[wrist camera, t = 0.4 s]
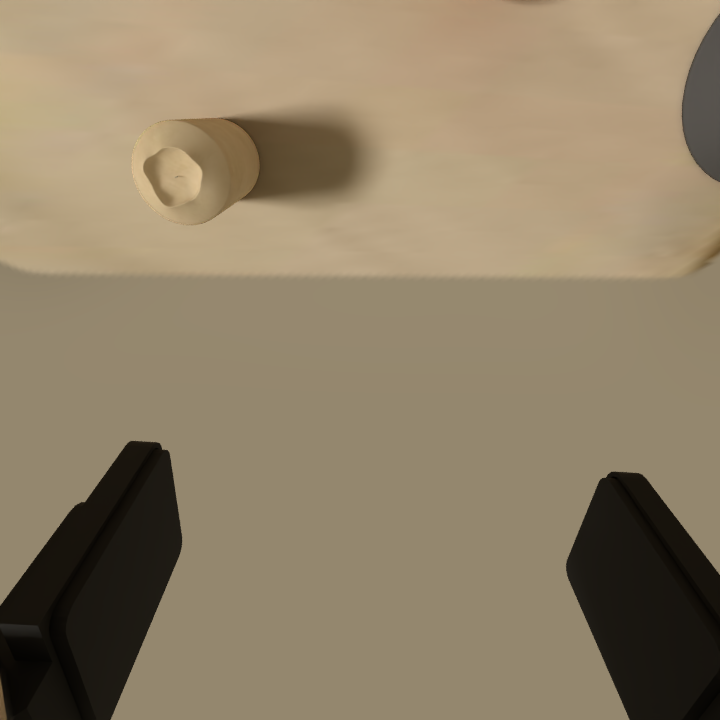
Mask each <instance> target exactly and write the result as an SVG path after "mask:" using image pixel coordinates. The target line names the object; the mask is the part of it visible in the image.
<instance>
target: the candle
mask: <svg viewBox="0 0 720 720" xmlns="http://www.w3.org/2000/svg"><path fill="white" fill-rule="evenodd" d="M259 170H260V161H259V155H258V151H257V148H256V146H255V144H254V142H253V141H252V139H251V138H250V136H249V135H248V134H247V133H246V132H245V131H244V130H243V129H242V128H241V127H239V126H238V125H236V124H235V123H233V122H230V121H228V120H224V119H218V118H205V119H181V120H166V121H161V122H158V123H156V124H154V125H152V126H150V127H149V128H147V129H146V130H145V131H144V132H143V133H142V134H141V136H140V137H139V138H138V140H137V142H136V144H135V147H134V150H133V154H132V173H133V178H134V181H135V184H136V186H137V189H138V191H139V193H140V194H141V196H142V198H143V199H144V200H145V202H146V203H147V204H148V205H149V206H150V207H151V208H152V209H153V210H154V211H155V212H156V213H158V214H159V215H160V216H162V217H164V218H165V219H167V220H169V221H172V222H174V223H178V224H183V225H197V224H202V223H205V222H207V221H209V220H211V219H213V218H214V217H216V216H217V215H219V214H220V213H222V212H223V211H224V210H226V209H227V208H229V207H230V206H232V205H233V204H234V203H236V202H237V201H239V200H240V199H242V198H243V197H244V196H245V195H247V194H248V193H249V192H250V191H251V190H252V188H253V187H254V185H255V184H256V181H257V179H258V175H259Z"/></svg>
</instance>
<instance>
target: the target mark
mask: <svg viewBox="0 0 720 720" xmlns="http://www.w3.org/2000/svg"><path fill="white" fill-rule="evenodd" d="M682 122H683V132H684V136H685V140H686V144H687V146H688V148H689V151H690V153H691V155H692V157H693V158H694V160H695V161H696V163H697V164H698V165H699V167H700V168H701V169H702V170H703V171H704V172H705V173H706V174H708V175H709V176H710V177H712V178H713V179H715V180H717V181H719V182H720V14H719V16H718V17H717V18H716V19H715V21H714V22H713V24H712V25H711V27H710V29H709V30H708V32H707V34H706V35H705V37H704V39H703V41H702V43H701V45H700V47H699V49H698V50H697V52H696V55H695V57H694V60H693V62H692V65H691V68H690V70H689V74H688V77H687V81H686V85H685V90H684V96H683V103H682Z"/></svg>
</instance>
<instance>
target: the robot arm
mask: <svg viewBox="0 0 720 720" xmlns="http://www.w3.org/2000/svg"><path fill="white" fill-rule="evenodd" d="M181 547H182V533H181V527H180V520H179V513H178V506H177V500H176V493H175V486H174V480H173V473H172V467H171V459H170V454H169V452H168V450H162V447H161V445H160V443H157V442H142V441H130V442H129V443H128V444H127V445H126V446H125V447H124V449H123V450H122V451H121V453H120V454H119V456H118V457H117V459H116V460H115V461H114V463H113V464H112V466H111V467H110V468H109V470H108V471H107V472H106V474H105V475H104V477H103V478H102V479H101V481H100V482H99V484H98V485H97V486H96V488H95V489H94V490H93V492H92V493H91V495H90V496H89V497H88V499H87V500H86V502H81V503H79V504H77V505H76V506H75V507H74V508H73V509H72V510H71V511H70V512H69V514H68V515H67V516H66V518H65V519H64V520H63V522H62V523H61V524H60V526H59V527H58V528H57V530H56V531H55V533H54V534H53V535H52V537H51V538H50V539H49V541H48V542H47V544H46V545H45V546H44V547H43V549H42V550H41V551H40V553H39V554H38V555H37V557H36V558H35V560H34V561H33V563H32V564H31V565H30V566H29V568H28V569H27V570H26V572H25V573H24V574H23V576H22V577H21V579H20V580H19V581H18V583H17V584H16V585H15V587H14V588H13V589H12V591H11V592H10V593H9V595H8V596H7V598H6V599H5V600H4V602H3V603H2V604H1V606H0V720H110V719H111V717H112V715H113V713H114V710H115V708H116V705H117V703H118V700H119V698H120V696H121V693H122V691H123V689H124V686H125V684H126V682H127V679H128V677H129V674H130V672H131V670H132V667H133V665H134V662H135V660H136V657H137V655H138V653H139V650H140V648H141V646H142V643H143V641H144V639H145V636H146V634H147V631H148V629H149V627H150V624H151V622H152V620H153V617H154V615H155V612H156V610H157V608H158V605H159V603H160V600H161V598H162V595H163V593H164V591H165V588H166V586H167V584H168V581H169V579H170V576H171V574H172V572H173V569H174V567H175V565H176V562H177V560H178V557H179V555H180V552H181ZM566 571H567V576H568V579H569V581H570V583H571V586H572V588H573V590H574V593H575V595H576V597H577V600H578V602H579V604H580V607H581V609H582V611H583V613H584V616H585V618H586V620H587V622H588V625H589V627H590V629H591V632H592V634H593V636H594V639H595V641H596V643H597V646H598V648H599V650H600V652H601V655H602V657H603V659H604V662H605V664H606V666H607V669H608V671H609V673H610V675H611V678H612V680H613V682H614V685H615V687H616V689H617V691H618V694H619V696H620V698H621V700H622V703H623V705H624V708H625V710H626V712H627V715H628V717H629V719H630V720H720V575H719V573H718V572H717V571H716V569H715V568H714V567H713V566H712V564H711V563H710V562H709V560H708V559H707V558H706V556H705V555H704V554H703V552H702V551H701V550H700V548H699V547H698V546H697V545H696V543H695V542H694V541H693V539H692V538H691V537H690V536H689V534H688V533H687V531H686V530H685V529H684V528H683V526H682V525H681V524H680V522H679V521H678V520H677V518H676V517H675V516H674V515H673V513H672V512H671V511H670V509H669V508H668V507H667V505H666V504H665V503H664V502H663V500H662V499H661V498H660V496H659V495H658V494H657V492H656V491H655V490H654V488H653V487H652V486H651V484H650V483H649V482H648V481H647V479H646V478H645V477H644V476H643V475H641V474H639V473H627V472H611V473H609V474H608V475H607V477H606V478H602V479H601V480H600V481H599V483H598V486H597V488H596V491H595V493H594V496H593V498H592V500H591V503H590V505H589V508H588V510H587V513H586V515H585V518H584V520H583V522H582V525H581V527H580V530H579V532H578V535H577V537H576V540H575V542H574V545H573V547H572V550H571V552H570V555H569V557H568V559H567V563H566Z"/></svg>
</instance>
